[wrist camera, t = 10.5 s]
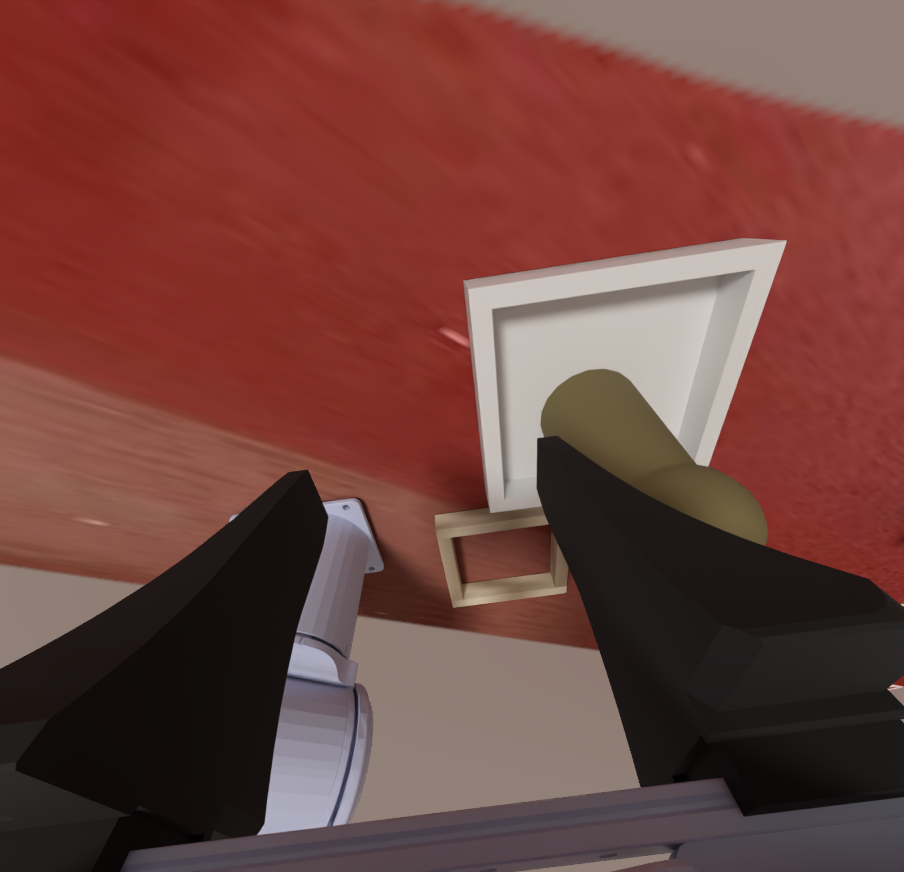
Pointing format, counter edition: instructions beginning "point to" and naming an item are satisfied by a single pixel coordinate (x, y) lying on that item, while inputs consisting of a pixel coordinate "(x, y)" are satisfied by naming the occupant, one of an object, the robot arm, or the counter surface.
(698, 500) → the cork
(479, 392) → the tray
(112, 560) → the counter surface
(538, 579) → the collar
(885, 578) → the counter surface
